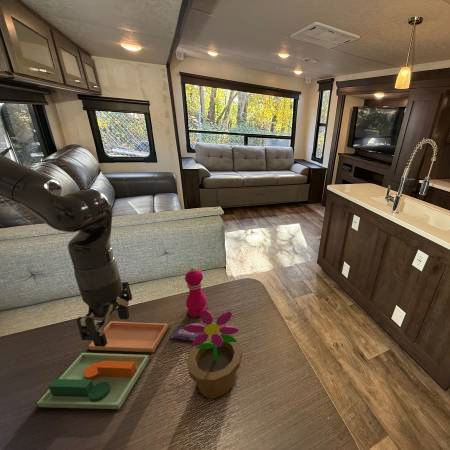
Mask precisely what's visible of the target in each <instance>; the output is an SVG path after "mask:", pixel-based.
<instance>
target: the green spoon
mask: <svg viewBox="0 0 450 450" xmlns="http://www.w3.org/2000/svg"><path fill="white" fill-rule="evenodd" d="M49 389H50V391H51V393H52V395H53V396H69V397H89V400H90V401H91V402H98V401H100V400H102V399H104V398H105V397H106V396H107V395H108V394H109V392H110V386H109V383H107V382H101V383H98V384H96V385H95V386H93V383H92V380H76V379H59V378H54V380H52V381H51V383H50V384H49V385H48V390H49Z"/></svg>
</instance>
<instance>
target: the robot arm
mask: <svg viewBox="0 0 450 450" xmlns="http://www.w3.org/2000/svg"><path fill="white" fill-rule="evenodd" d="M62 192H63V190H62V186H61V184H60V183H59V182H58V181H57V180H56V179H54V178H52V177H51V176H48V175H46V174H45V173H42V172H41V171H40V172H39V171H38V170H35V169H33V168H31V167H28V166H26V165H23V164H22V163H19V162H18V161H15V160H13V159H11V158H9V157H7V156H5V155H4V154H2V153H0V197H1V198H3V199H6V200H8V201H11V202H13V203H15V204H17V205H20V206H22V207H24V208H25V209H27V210H28V211H30V212H31V213H32V214H33V215H35V216H36V217H37V218H39V219H40V220H41V221H42V222H44V223H45V224H46V225H47V226H49V227H50V228H52V229H54V230H56V231H58V232H63V233H76V232H77V234H76V235H74V237H72V238H71V239H70V240H69V241H68V243H67V251H68V254H69V257H70V260H71V263H72V266H73V274H74V278H75V281H76V284H77V288H78V291H79V293H80V296H81V298H82V301H83V303H84V304H86V305H87V306H88V311H87V312H88V313H86V314H85V315H84V316H78V317H77V318H76V325H77V328H78V331H79V335H80V338H81V341H91V342H92V341H93V342H94V345H95V346H100V347H105V346H106V345H107V340H106V336H105V333H103V332H104V328H105V327H106V326H107V325H108V324H109V320H110V316H111V315H112V314H113V313H114V312H115V311H116V310H117V314H118V319H119V320H126V321H127V320H128V319H129V318H130V312H129V311H130V310H129V303H130V301H132V300H133V294H132V291H131V287H130V284H129V282H128V281H122V279H121V274H120V270H119V266H118V263H117V261H116V258H115V256H114V251H113V247H112V243H111V236H112V229H113V228H112V226H113V209H112V204H111V202H110V200H109V199H108V198H107V196H106V195H105V194H104V193H102V192H100V191H99V190H97V189H93V188H85V189H81V190H78V191H74V192H71V193H68V194H64V195H62ZM97 319H102V320H97ZM97 326H98V330H97V329H96V328H97Z"/></svg>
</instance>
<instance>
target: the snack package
mask: <svg viewBox="0 0 450 450" xmlns="http://www.w3.org/2000/svg"><path fill="white" fill-rule="evenodd" d="M201 333H205V331H202V332H199V333H190V332H188V331H186V330H184V326H177V328H175V331H174V332H173V333H172V334H171V336H170V339H175V340H182V341H189V342H190V341H191V342H193V341H194V338H196V337H197V336H198V335H199V334H201Z"/></svg>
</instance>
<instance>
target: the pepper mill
mask: <svg viewBox="0 0 450 450" xmlns="http://www.w3.org/2000/svg"><path fill="white" fill-rule="evenodd" d="M203 279H204V274H203V272H202V271H201V270H200V269H197V268H196V266H195V267H194V266H192V267H191V268H190V270H188V271H187V272H186V273H185V276H184V280H185V283H186V284H187V286H186V287H187V289H188V290H189V291H188V292H189V293H188V296H187V298H186V301H185V306H186V308H187V312H188V313H187V314H188V315H189V316H190V317H192V318H198V317H201V310H204V309H206V310H207V306H206V305H207V297H206V295H205V294H204V293H203V290H202V286H203Z"/></svg>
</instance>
